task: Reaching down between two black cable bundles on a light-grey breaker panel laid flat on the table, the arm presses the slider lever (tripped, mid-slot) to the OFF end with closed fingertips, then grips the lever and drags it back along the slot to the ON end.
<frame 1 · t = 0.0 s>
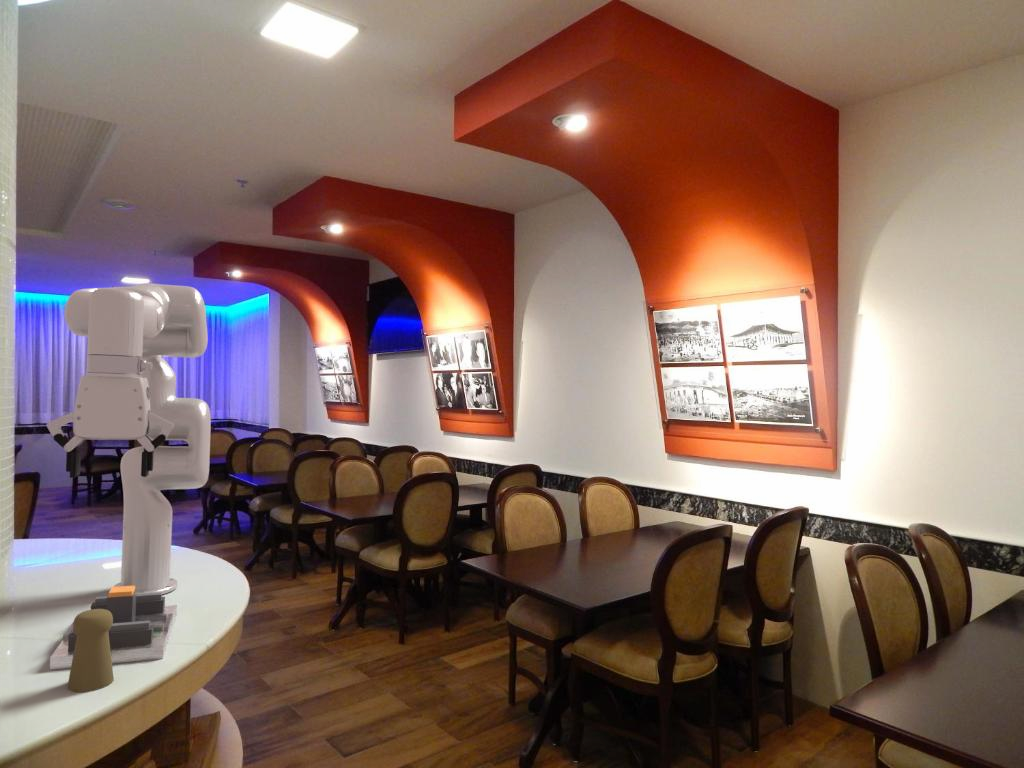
hand: (110, 476, 106), 31 cm above the table, fingers open, 9 cm apart
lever: (121, 608, 119), point 6 cm above the table, slide at 0.0 cm
panel: (120, 639, 119), on the table
cork: (90, 684, 102), on the table
long gray rail: (120, 618, 119), point 4 cm above the table
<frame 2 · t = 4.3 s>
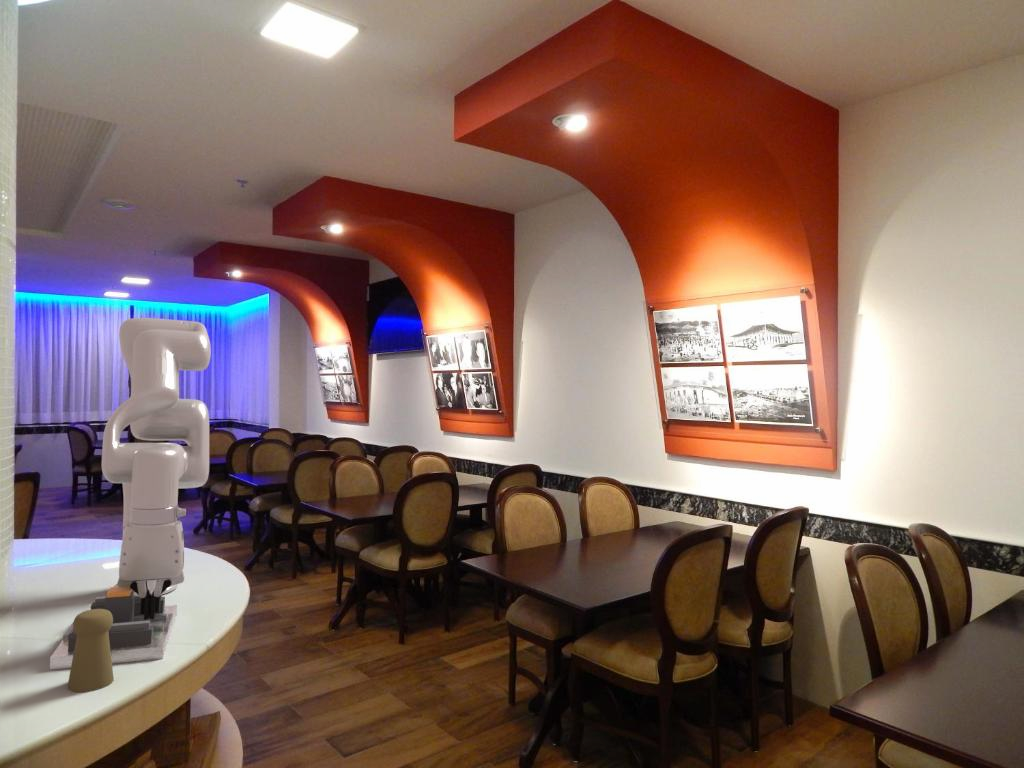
hand: (150, 617, 121), 4 cm above the table, fingers closed
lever: (119, 608, 119), point 6 cm above the table, slide at -0.3 cm, touching gripper
everything else where it was.
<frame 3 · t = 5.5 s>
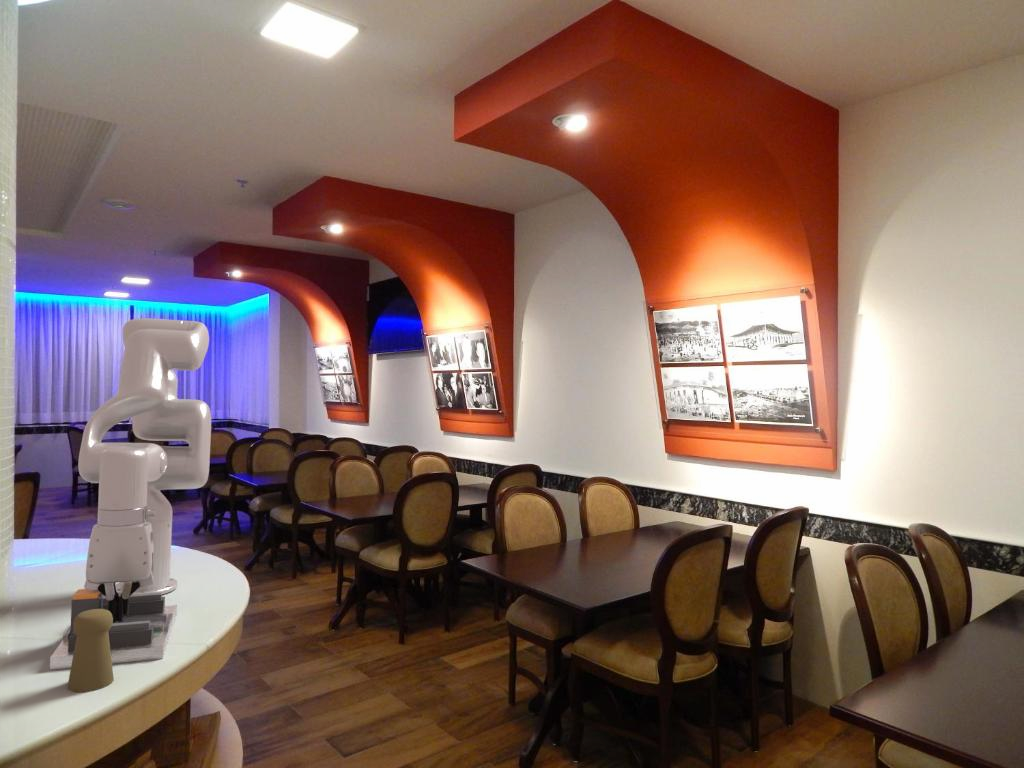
hand: (118, 619, 119), 4 cm above the table, fingers closed
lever: (87, 610, 118), point 6 cm above the table, slide at -5.3 cm, touching gripper, panel
everything else where it was.
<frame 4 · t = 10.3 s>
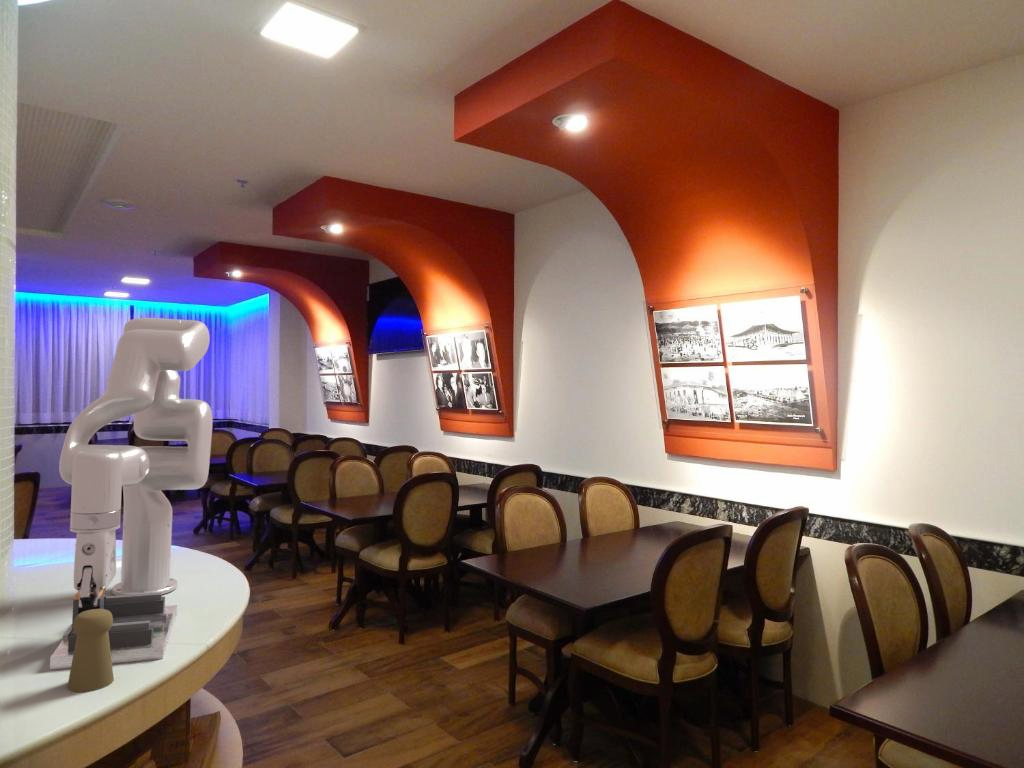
hand: (91, 623, 118), 3 cm above the table, fingers closed on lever, 4 cm apart
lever: (88, 610, 118), point 6 cm above the table, slide at -5.0 cm, touching gripper
everything else where it was.
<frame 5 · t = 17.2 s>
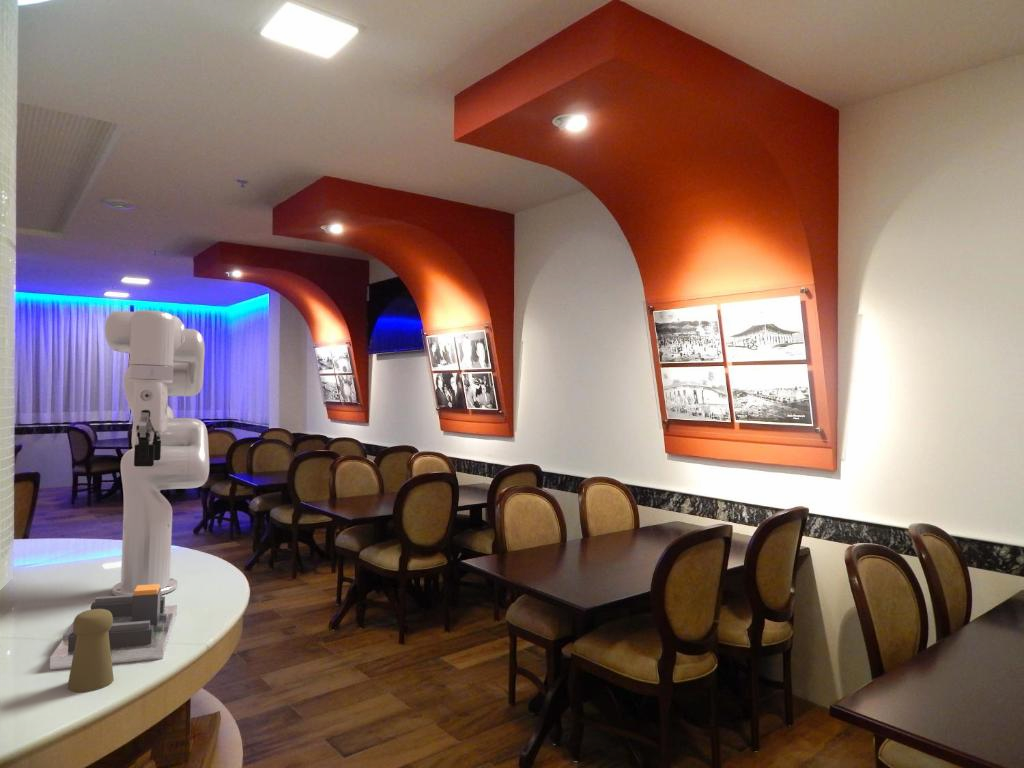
hand: (147, 463, 130), 30 cm above the table, fingers open, 9 cm apart
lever: (146, 606, 121), point 6 cm above the table, slide at 4.0 cm
everything else where it was.
at the end: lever slide at 4.0 cm; the gripper is holding nothing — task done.
